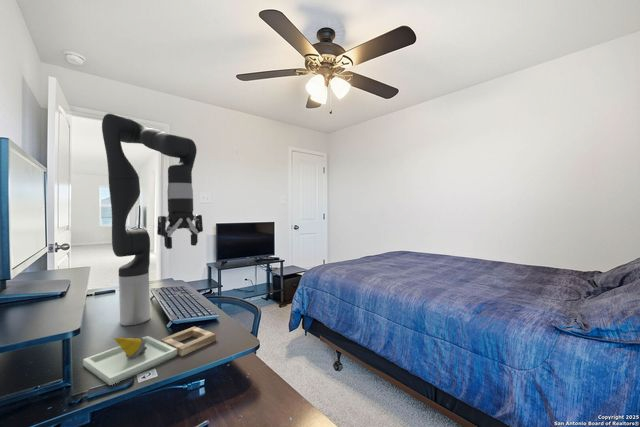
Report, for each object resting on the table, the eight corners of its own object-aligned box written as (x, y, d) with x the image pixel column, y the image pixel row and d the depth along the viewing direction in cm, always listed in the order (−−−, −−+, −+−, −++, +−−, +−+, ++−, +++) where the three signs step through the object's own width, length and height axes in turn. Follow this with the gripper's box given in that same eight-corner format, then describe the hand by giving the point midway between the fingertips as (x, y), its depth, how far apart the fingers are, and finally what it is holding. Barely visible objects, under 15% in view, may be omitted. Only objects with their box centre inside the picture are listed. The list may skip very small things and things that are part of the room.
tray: (83, 366, 75) (83, 359, 75) (147, 341, 88) (147, 335, 88) (110, 386, 66) (110, 378, 66) (177, 355, 80) (177, 349, 80)
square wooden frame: (160, 346, 85) (160, 339, 85) (194, 332, 94) (194, 326, 94) (182, 356, 79) (181, 349, 79) (215, 340, 88) (215, 333, 88)
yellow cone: (149, 359, 78) (117, 344, 72) (134, 365, 79) (101, 351, 73) (156, 340, 82) (126, 324, 76) (141, 346, 83) (111, 331, 77)
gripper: (193, 198, 102) (194, 243, 103) (152, 197, 90) (153, 249, 91) (206, 197, 98) (207, 245, 98) (165, 196, 86) (166, 250, 87)
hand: (181, 246), depth 95 cm, fingers open, 8 cm apart
